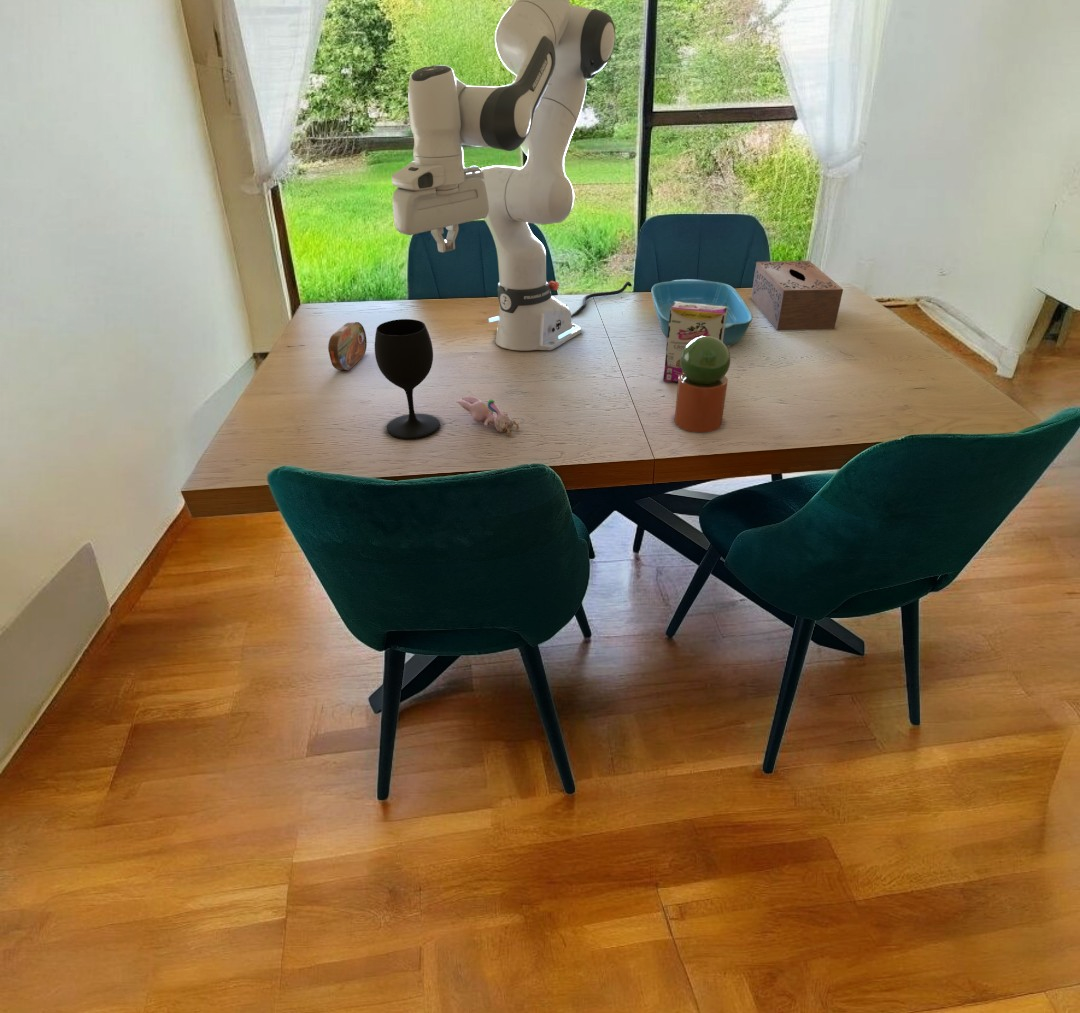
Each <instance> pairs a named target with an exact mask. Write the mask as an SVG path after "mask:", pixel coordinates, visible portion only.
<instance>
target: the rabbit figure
mask: <svg viewBox="0 0 1080 1013" xmlns="http://www.w3.org/2000/svg"><path fill="white" fill-rule="evenodd" d="M455 402H456V403H457V404H458V405H460V406H461V407H462V408H463V409H464V410H465V411H466V412H468V413H469V414H470V416H471V417H472V419H473V421H475V422H477V423H481V424H484V427H487V426H488V424H491V425H493V426H495V429H496V430H497V432H498V433H500V434H503V433H505V432H506V431H507V433H506V436H508V437H509V436H510V434H511V433H512V432H511V429H512V428H513V426H514V425H515V426H516V427H515V431H516V432H518V430H520V426H519V423H517V422H516V421H515V420H512V419H511V418H510V417H509V413H507V412H501V411H500V409H499V408H498V407H497V405H496V404H495V403H496V402H495V399H489V400H488V401H487V402H486V401H483V400H480V399H479V398H477V397H475V396H472V395H467V396H463V397H461V398H460V399H457V400H455ZM494 413H495V414H494Z"/></svg>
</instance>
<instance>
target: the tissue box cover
mask: <svg viewBox="0 0 1080 1013" xmlns="http://www.w3.org/2000/svg"><path fill="white" fill-rule="evenodd" d="M754 268H755V270H754V276H753V283H752V288H751V289H752V290H751V296H750V299H751V300H752V301H753V303H754V304H755V305H756V307H757V308H758V309H759V310H760V311H761V312H762V314H763V315H764V316H765V317H766V319H767V320H768V321H769V322H770V323H771V325H772V326H773V327H774V329H775V330H776V331H804V330H805V331H806V330H807V331H808V330H811V331H813V330H814V331H815V330H835V328H836V324H837V319H838V314H839V310H840V305H841V301H842V297H843V292H844V288H842V287H841V286H840V285H838V284H837V283H836V281H834V280H833V279H832V278H830V277H829V276H828V275H827V274H826V273H824V272H823V271H822V270H821V269H820V268H819V267H817V266H816V265H815V264H814V263H813V262H811V261H810V260H785V261H784V260H783V261H781V260H780V261H775V260H774V261H756V262H755V267H754Z"/></svg>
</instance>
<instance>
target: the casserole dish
mask: <svg viewBox="0 0 1080 1013" xmlns="http://www.w3.org/2000/svg"><path fill="white" fill-rule="evenodd" d="M651 296H652V301H653V306H654V311H655V313H656V316H657V319H658V322H659V325H660V329H661V331H662V333H663V334H664V336H665V337H666V339H667V338H668V328H669V318H670V309H671V306H673V304H674V301H677V302H687V303H696V304H706V305H716V306H726V307H727V316H726V322H725V329H724V336H723V343H724V344H725V345H726V346H727V347H729V346H733V345H735V344H737V343H739V342H740V341H741V340H742V339H743V338H744V336H745V334H746V332H747V330H748V329H749V327H750V324H751V323H752V321H753V313H752V312H751V310H750V308H749V306H748V304H746V302H745V300H744V299H743V298H742V296H741V295H740V294H739V292H738V291H737V290H736V288H734V287H733V286H731V285H729V284H727V283H724V282H718V281H710V280H703V279H693V278H691V279H689V278H687V279H686V278H685V279H684V278H683V279H673V280H671V281H662V282H658V283H655V284H654V285H653V286H652V287H651Z"/></svg>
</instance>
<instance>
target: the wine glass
mask: <svg viewBox="0 0 1080 1013" xmlns="http://www.w3.org/2000/svg"><path fill="white" fill-rule="evenodd" d="M374 356H375V361H376V364H377V367H378V369H379V371H380V373H381V374H382V375H383V376H384V378H385V379H386V380H387V381H389V382H390V383H392V384H393V385H394V386H397V387H398V388H400V389H403V390H404V392H405V395H406V396H405V397H406V401H407V406H408V414H403V415H400V416H397V417H395V418H394V419H391V420H390V421H389V422H388V423H387V425H386V432H387V434H388V435H390V437H392V438H395V439H399V440H406V441H408V440H409V441H413V440H420V439H424V438H428V437H431V436H432V435H434V434H435V433H437V432H438V431H439V430H440V428H441V422H440V420H439V419H438V418H437V417H436V416H433V415H431V414H428V413H415V412H416V411H415V406H414V389H415V388H416V387H418V386H419V385H420V384H421V383H422V382H423V381H424V380H425V379H426V378H427V376H428V375H429V373H430V371H431V369H432V365H433V361H434V348H433V343H432V339H431V335H430V333H429V331H428V328H427V326H426V324H425V322H423V321H421V320H418V319H413V318H411V319H410V318H402V319H401V318H400V319H393V320H392V319H391V320H389V321H384V322H382V323H379V325H377V327H376V329H375V336H374Z"/></svg>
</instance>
